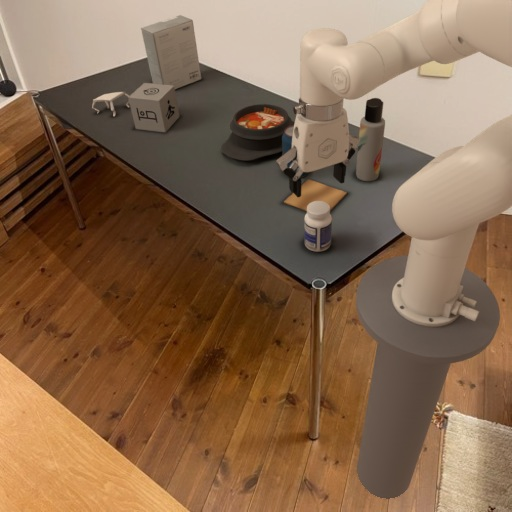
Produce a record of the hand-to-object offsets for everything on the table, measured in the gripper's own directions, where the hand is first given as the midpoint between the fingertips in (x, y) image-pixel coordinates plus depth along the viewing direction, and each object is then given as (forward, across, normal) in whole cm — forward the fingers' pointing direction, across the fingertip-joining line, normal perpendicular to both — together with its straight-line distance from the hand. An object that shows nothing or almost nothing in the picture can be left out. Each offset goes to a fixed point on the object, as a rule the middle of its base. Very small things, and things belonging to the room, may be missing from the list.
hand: (317, 186), depth 100 cm
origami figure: (+17, -24, +86) cm, 91 cm away
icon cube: (+16, -14, +71) cm, 74 cm away
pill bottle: (+15, 0, -1) cm, 15 cm away
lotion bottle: (+15, +24, +16) cm, 33 cm away
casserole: (+16, +8, +44) cm, 47 cm away
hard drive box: (+17, 0, +95) cm, 97 cm away
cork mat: (+15, +8, +14) cm, 22 cm away
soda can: (+16, +9, +26) cm, 32 cm away
